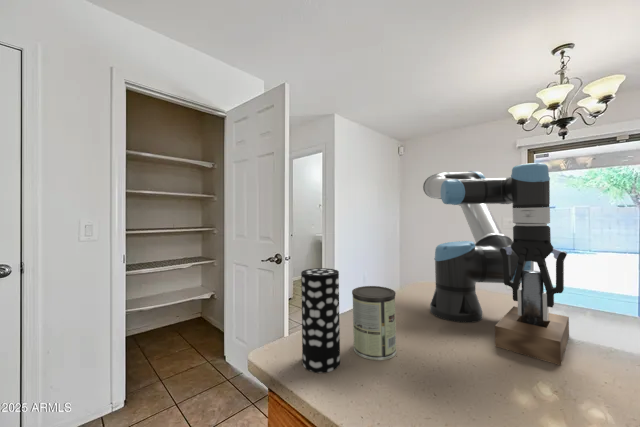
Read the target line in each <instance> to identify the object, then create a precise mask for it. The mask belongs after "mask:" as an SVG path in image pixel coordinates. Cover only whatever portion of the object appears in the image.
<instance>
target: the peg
mask: <svg viewBox="0 0 640 427" xmlns="http://www.w3.org/2000/svg"><path fill="white" fill-rule="evenodd" d="M521 282H522V283H521V288H522V323H527V324H531V325H536V326H540V327H544V321H543V293H544V292H545V289H544V288H545V286H544V283H543V279H542V276H541V273H540V270H534V269H533V270H532V269H531V270H523V271H522V274H521Z"/></svg>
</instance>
